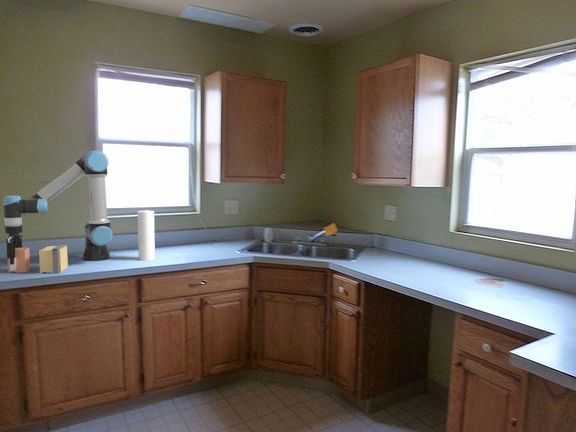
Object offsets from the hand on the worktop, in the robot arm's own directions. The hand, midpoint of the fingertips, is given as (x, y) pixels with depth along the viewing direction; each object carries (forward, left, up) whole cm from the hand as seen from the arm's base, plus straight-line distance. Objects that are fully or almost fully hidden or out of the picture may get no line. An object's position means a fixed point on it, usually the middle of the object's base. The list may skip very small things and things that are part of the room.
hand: (15, 268), depth 218 cm
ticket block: (-18, 0, -1) cm, 19 cm away
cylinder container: (-63, -22, -2) cm, 67 cm away
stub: (-2, 0, -1) cm, 2 cm away
